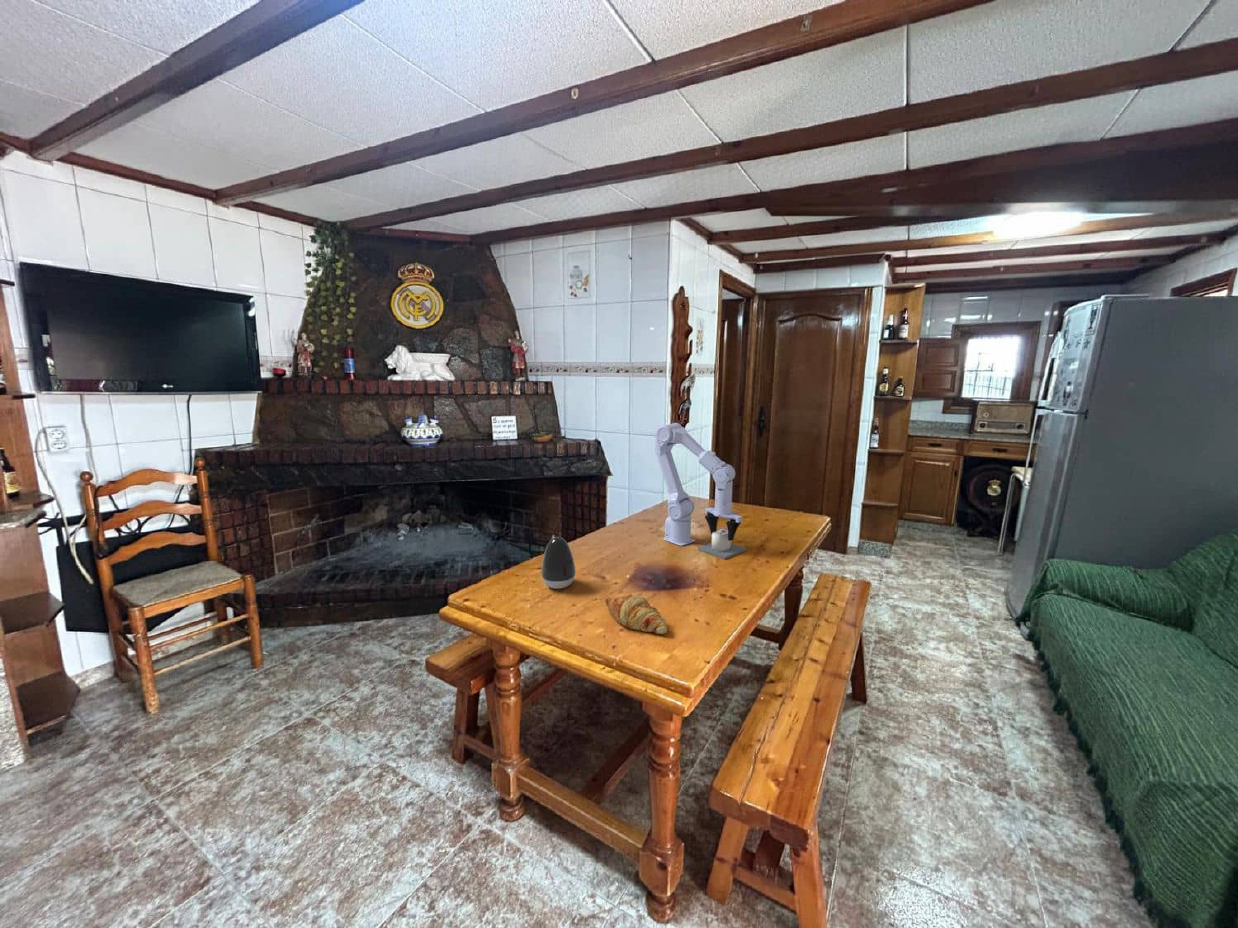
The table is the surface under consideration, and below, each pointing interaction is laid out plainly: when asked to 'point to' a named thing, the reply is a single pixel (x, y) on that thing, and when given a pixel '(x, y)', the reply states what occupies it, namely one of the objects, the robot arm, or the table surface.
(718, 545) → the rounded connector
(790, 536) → the table surface
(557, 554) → the dark grey egg shape
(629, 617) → the croissant
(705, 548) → the slate mat
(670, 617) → the table surface
